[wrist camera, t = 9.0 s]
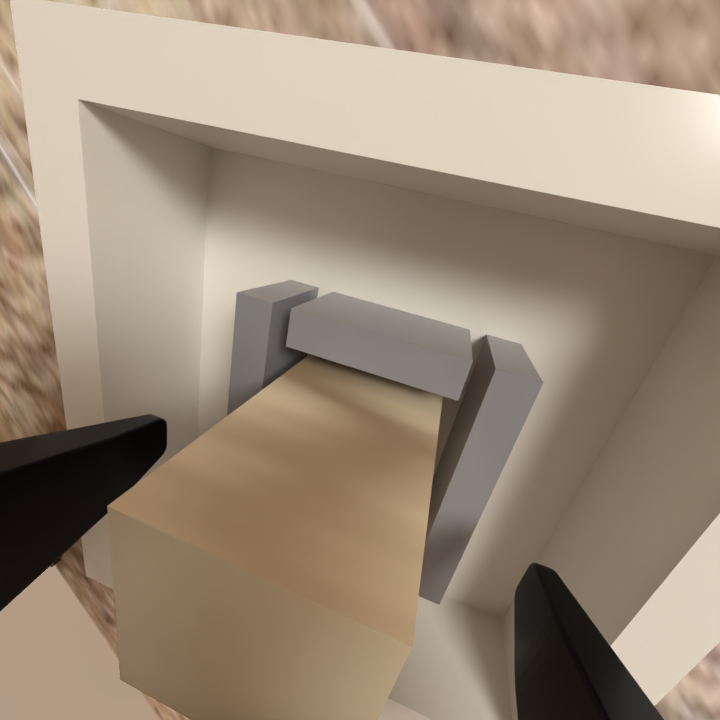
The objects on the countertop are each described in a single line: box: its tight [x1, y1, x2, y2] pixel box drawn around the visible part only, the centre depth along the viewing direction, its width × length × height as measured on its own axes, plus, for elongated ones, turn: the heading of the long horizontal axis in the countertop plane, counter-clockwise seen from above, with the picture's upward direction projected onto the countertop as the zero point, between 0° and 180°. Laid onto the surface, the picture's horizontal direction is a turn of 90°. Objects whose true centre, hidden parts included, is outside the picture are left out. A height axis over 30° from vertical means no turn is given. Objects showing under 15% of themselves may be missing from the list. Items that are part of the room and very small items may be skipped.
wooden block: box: [107, 354, 443, 720], centre depth 8 cm, size 4×4×8 cm
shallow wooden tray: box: [10, 0, 720, 720], centre depth 11 cm, size 17×17×5 cm
